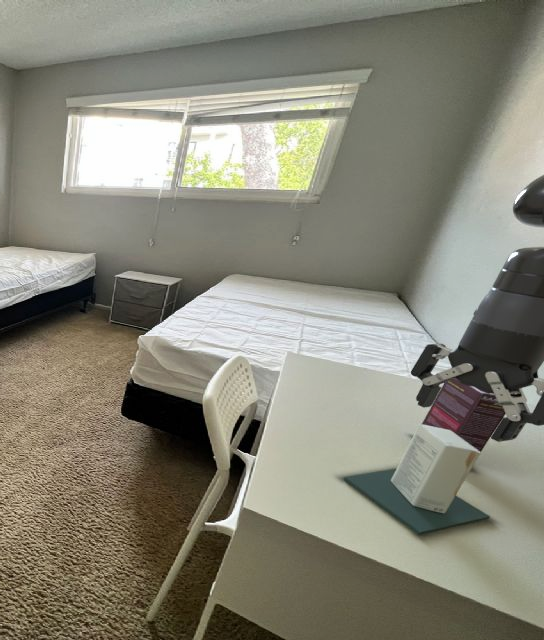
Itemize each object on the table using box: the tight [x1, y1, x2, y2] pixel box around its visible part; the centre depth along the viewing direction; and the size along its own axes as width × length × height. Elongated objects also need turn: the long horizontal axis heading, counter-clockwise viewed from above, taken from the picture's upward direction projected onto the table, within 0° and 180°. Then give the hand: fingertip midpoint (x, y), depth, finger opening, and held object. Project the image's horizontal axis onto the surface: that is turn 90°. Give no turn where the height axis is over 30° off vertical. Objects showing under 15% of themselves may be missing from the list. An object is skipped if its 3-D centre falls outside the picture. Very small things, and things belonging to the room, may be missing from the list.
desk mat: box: [343, 467, 491, 536], centre depth 59 cm, size 16×11×1 cm
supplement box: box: [421, 379, 506, 453], centre depth 69 cm, size 9×5×16 cm, turn 160°
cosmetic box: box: [391, 423, 482, 514], centre depth 57 cm, size 6×4×12 cm
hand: (458, 421), depth 54 cm, fingers open, 8 cm apart
